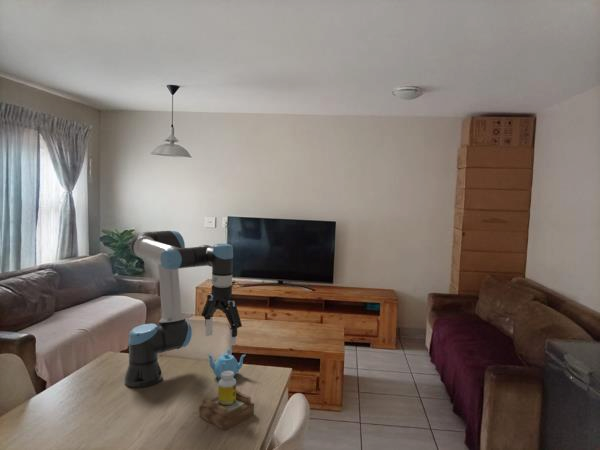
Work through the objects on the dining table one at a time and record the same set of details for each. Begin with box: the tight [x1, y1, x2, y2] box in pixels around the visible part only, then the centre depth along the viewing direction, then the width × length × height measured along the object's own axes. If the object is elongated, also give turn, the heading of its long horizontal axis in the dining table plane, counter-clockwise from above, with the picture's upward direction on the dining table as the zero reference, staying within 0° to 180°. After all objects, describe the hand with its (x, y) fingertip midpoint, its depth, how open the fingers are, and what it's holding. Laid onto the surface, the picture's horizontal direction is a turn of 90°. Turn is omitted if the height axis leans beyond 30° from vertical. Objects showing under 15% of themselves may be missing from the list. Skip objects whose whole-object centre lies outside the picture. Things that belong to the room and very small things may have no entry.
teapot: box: [206, 346, 246, 380], centre depth 181 cm, size 13×13×10 cm
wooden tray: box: [198, 390, 255, 431], centre depth 149 cm, size 14×14×6 cm
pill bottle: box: [217, 371, 237, 408], centre depth 148 cm, size 6×6×12 cm
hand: (220, 340), depth 154 cm, fingers open, 13 cm apart
